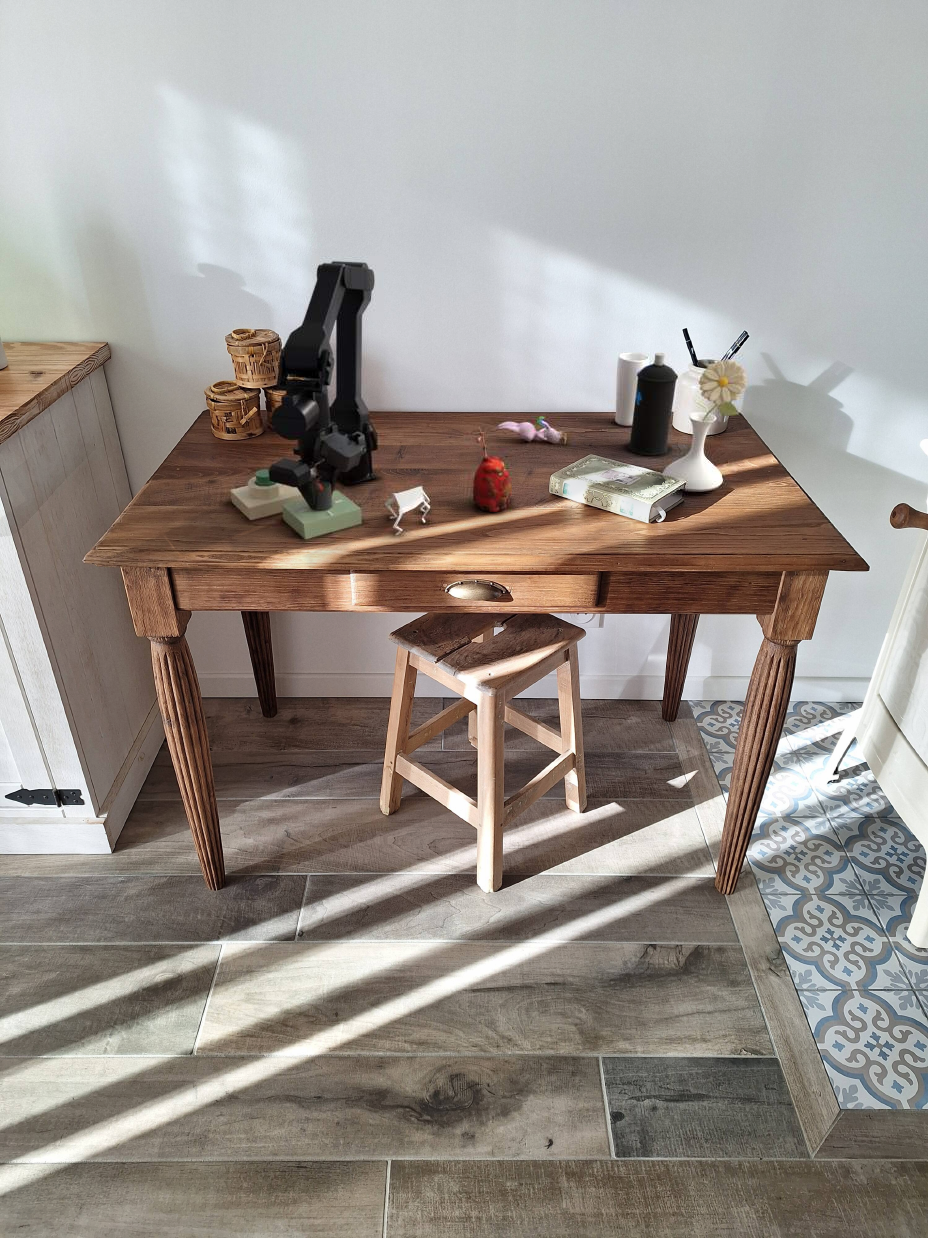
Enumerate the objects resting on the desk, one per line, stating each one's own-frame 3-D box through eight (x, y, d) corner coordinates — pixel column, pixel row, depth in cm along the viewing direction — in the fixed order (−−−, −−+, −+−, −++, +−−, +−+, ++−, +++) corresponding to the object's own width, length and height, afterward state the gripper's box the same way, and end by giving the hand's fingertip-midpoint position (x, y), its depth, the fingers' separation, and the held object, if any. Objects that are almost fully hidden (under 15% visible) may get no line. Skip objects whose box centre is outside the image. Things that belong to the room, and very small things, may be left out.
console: (338, 505, 157) (337, 489, 155) (361, 523, 151) (360, 507, 149) (283, 519, 152) (281, 503, 150) (305, 539, 145) (303, 523, 144)
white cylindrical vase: (611, 426, 191) (618, 360, 183) (611, 416, 197) (618, 351, 189) (641, 428, 190) (650, 361, 182) (641, 418, 196) (649, 352, 188)
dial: (307, 503, 150) (305, 480, 148) (330, 499, 152) (328, 477, 149) (312, 512, 147) (309, 489, 145) (334, 509, 148) (332, 486, 146)
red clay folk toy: (503, 516, 153) (506, 437, 145) (466, 511, 155) (467, 432, 147) (514, 499, 159) (517, 422, 151) (478, 494, 161) (479, 417, 153)
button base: (286, 488, 163) (284, 466, 160) (306, 505, 157) (304, 483, 154) (231, 502, 158) (228, 479, 155) (250, 520, 151) (247, 497, 149)
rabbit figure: (563, 442, 187) (496, 429, 186) (570, 416, 184) (502, 403, 183) (564, 453, 182) (495, 440, 181) (570, 427, 178) (500, 413, 178)
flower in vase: (649, 485, 165) (667, 356, 151) (680, 468, 172) (700, 343, 158) (710, 505, 158) (734, 371, 144) (739, 487, 165) (765, 357, 151)
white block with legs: (387, 508, 156) (385, 483, 153) (432, 509, 155) (432, 484, 153) (378, 539, 146) (377, 513, 143) (427, 540, 145) (426, 514, 143)
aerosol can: (673, 446, 182) (687, 352, 171) (658, 459, 176) (672, 362, 165) (637, 438, 185) (648, 346, 175) (622, 450, 180) (632, 355, 169)
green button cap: (271, 477, 157) (270, 467, 156) (279, 484, 154) (278, 474, 153) (253, 482, 155) (251, 471, 154) (261, 489, 153) (259, 478, 152)
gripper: (316, 445, 131) (325, 535, 139) (384, 409, 144) (388, 494, 153) (260, 432, 135) (272, 520, 144) (331, 398, 149) (338, 481, 157)
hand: (320, 503), depth 149 cm, fingers closed on dial, 4 cm apart
